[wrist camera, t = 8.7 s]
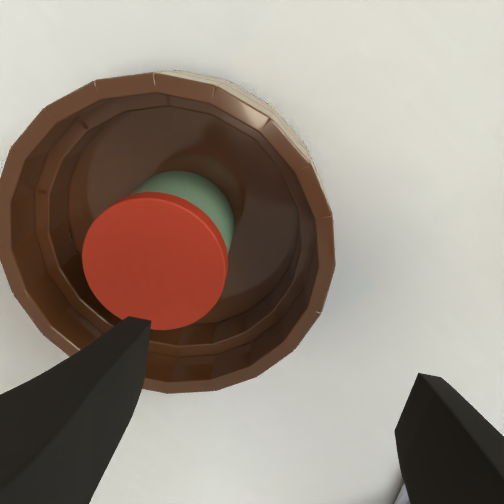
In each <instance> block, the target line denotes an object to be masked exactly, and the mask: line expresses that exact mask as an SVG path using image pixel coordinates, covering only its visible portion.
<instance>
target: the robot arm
mask: <svg viewBox="0 0 504 504" xmlns="http://www.w3.org/2000/svg"><path fill="white" fill-rule="evenodd" d="M151 321H152V320H147V319H141V318H136V317H131V316H128V317H126V318H125V319H123V320H122V321H121V322H119V323H118V324H116V325H115V326H114V327H112V328H111V329H110V330H108V331H107V332H105V333H104V334H103V335H101V336H100V337H98V338H97V339H96V340H94V341H93V342H91V343H90V344H88V345H87V346H85V347H84V348H82V349H81V350H80V351H78V352H77V353H75V354H74V355H72V356H71V357H69V358H67V359H66V360H64V361H62V362H61V363H59V364H57V365H56V366H54V367H52V368H51V369H49V370H47V371H46V372H44V373H42V374H41V375H39V376H37V377H35V378H33V379H31V380H30V381H28V382H26V383H24V384H22V385H19V386H17V387H15V388H13V389H11V390H9V391H7V392H5V393H3V394H1V395H0V504H89V503H90V501H91V498H92V496H93V494H94V492H95V490H96V488H97V486H98V484H99V482H100V480H101V478H102V476H103V474H104V472H105V470H106V468H107V466H108V464H109V462H110V460H111V458H112V456H113V454H114V452H115V450H116V448H117V446H118V444H119V442H120V440H121V438H122V436H123V434H124V432H125V430H126V428H127V426H128V424H129V422H130V420H131V418H132V415H133V413H134V410H135V407H136V404H137V402H138V399H139V396H140V393H141V390H142V387H143V384H144V380H145V372H146V363H147V355H148V346H149V338H150V329H151ZM395 438H396V445H397V452H398V458H399V464H400V469H401V473H402V477H403V480H404V484H403V487H402V489H401V491H400V493H399V495H398V497H397V499H396V502H395V504H504V436H503V435H502V434H500V433H499V432H498V431H497V430H496V429H495V428H494V427H493V426H492V425H491V424H490V423H489V422H488V421H487V420H486V419H485V418H484V417H483V416H482V415H481V414H480V413H479V412H478V411H477V410H476V409H475V408H474V407H473V406H472V405H470V404H469V403H468V402H467V401H466V400H465V399H464V398H463V397H462V396H461V395H460V394H459V393H458V392H457V391H456V390H455V389H454V388H453V387H452V386H451V385H449V384H448V383H447V382H446V381H445V380H444V379H442V378H441V377H437V376H431V375H426V374H421V373H418V375H417V378H416V380H415V383H414V385H413V387H412V390H411V392H410V395H409V397H408V400H407V402H406V404H405V407H404V409H403V412H402V414H401V416H400V419H399V421H398V424H397V426H396V429H395Z"/></svg>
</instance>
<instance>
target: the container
mask: <svg viewBox="0 0 504 504" xmlns="http://www.w3.org/2000/svg"><path fill="white" fill-rule="evenodd" d="M233 235H234V216H233V212H232V209H231V206H230V204H229V202H228V200H227V199H226V197H225V195H224V194H223V193H222V192H221V190H220V189H219V188H218V187H217V186H216V185H215V184H213V183H212V182H211V181H209V180H208V179H206V178H204V177H202V176H200V175H197V174H195V173H191V172H187V171H167V172H163V173H159V174H157V175H154V176H152V177H151V178H149V179H147V180H146V181H145V182H144V183H143V184H141V185H140V186H139V187H138V188H137V189H136V190H134V191H133V192H132V193H131V194H130V195H129V196H126V197H124V198H122V199H120V200H118V201H116V202H115V203H113V204H112V205H111V206H109V207H108V208H107V209H106V210H105V211H103V212H102V213H101V214H100V215H99V216H98V217H97V218H96V219H95V220H94V221H93V223H92V224H91V226H90V228H89V229H88V232H87V234H86V236H85V239H84V243H83V249H82V264H83V270H84V274H85V277H86V280H87V282H88V285H89V287H90V289H91V290H92V292H93V293H94V295H95V296H96V298H97V299H98V300H99V301H100V303H101V304H102V305H103V306H104V307H105V308H106V309H108V310H109V311H110V312H111V313H113V314H114V315H115V316H117V317H119V318H120V319H122V320H123V319H125V318H126V317H128V316H131V317H136V318H141V319H147V320H152V321H151V329H153V330H170V329H176V328H181V327H184V326H187V325H190V324H192V323H194V322H196V321H197V320H199V319H201V318H202V317H204V316H205V315H206V314H207V313H208V312H209V311H210V310H211V309H212V308H213V307H214V305H215V304H216V303H217V301H218V299H219V298H220V296H221V293H222V291H223V288H224V284H225V280H226V276H227V271H228V253H229V250H230V246H231V243H232V239H233Z"/></svg>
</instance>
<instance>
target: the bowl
mask: <svg viewBox="0 0 504 504" xmlns="http://www.w3.org/2000/svg"><path fill="white" fill-rule="evenodd" d="M167 171H187V172H191V173H195V174H197V175H200V176H202V177H204V178H206V179H208V180H209V181H211V182H212V183H213V184H215V185H216V186H217V187H218V188H219V189H220V190H221V192H222V193H223V194H224V195H225V197H226V199H227V200H228V202H229V204H230V206H231V209H232V212H233V216H234V235H233V239H232V243H231V246H230V250H229V253H228V271H227V276H226V280H225V284H224V288H223V291H222V293H221V296H220V298H219V299H218V301H217V303H216V304H215V305H214V307H213V308H212V309H211V310H210V311H209V312H208V313H207V314H206V315H205V316H204V317H202V318H201V319H199V320H197V321H196V322H194V323H192V324H190V325H187V326H184V327H181V328H176V329H170V330H153V329H150V338H149V346H148V355H147V363H146V372H145V380H144V384H143V387H142V389H146V390H152V391H157V392H162V393H167V394H169V393H170V394H172V393H189V392H207V391H214V390H215V391H217V390H220V389H223V388H226V387H229V386H232V385H235V384H238V383H241V382H244V381H246V380H249V379H252V378H255V377H257V376H259V375H260V374H262V373H263V372H265V371H266V370H267V369H269V368H270V367H272V366H273V365H274V364H276V363H277V362H279V361H280V360H281V359H283V358H284V357H286V356H287V355H288V354H290V353H291V352H293V350H294V349H296V347H297V346H298V345H299V343H300V342H301V340H302V339H303V338H304V336H305V335H306V334H307V332H308V331H309V329H310V328H311V327H312V325H313V324H314V323H315V321H316V320H317V319H318V317H319V316H320V314H321V312H322V310H323V307H324V304H325V300H326V297H327V293H328V290H329V287H330V283H331V280H332V277H333V273H334V270H335V247H334V229H333V216H332V212H331V209H330V206H329V203H328V200H327V197H326V194H325V191H324V188H323V185H322V183H321V180H320V178H319V175H318V173H317V171H316V168H315V166H314V163H313V161H312V158H311V156H310V154H309V151H308V149H307V146H305V143H304V142H303V141H302V140H301V139H300V138H299V137H298V135H297V134H296V133H295V132H294V131H293V130H292V128H291V127H290V126H289V125H288V124H287V123H286V122H285V120H284V119H283V118H282V117H281V116H280V115H279V113H278V112H277V111H276V110H275V109H274V108H272V106H270V105H269V104H267V103H265V102H264V101H262V100H260V99H259V98H257V97H255V96H253V95H252V94H250V93H248V92H247V91H245V90H243V89H242V88H240V87H238V86H237V85H235V84H233V83H232V82H228V81H227V80H223V79H218V78H213V77H208V76H204V75H199V74H194V73H189V72H185V71H176V70H174V71H162V72H151V73H143V74H136V75H128V76H121V77H113V78H106V79H98V80H95V81H92V82H90V83H88V84H86V85H84V86H83V87H81V88H79V89H77V90H75V91H73V92H71V93H70V94H68V95H66V96H64V97H62V98H60V99H58V100H57V101H55V102H53V103H51V104H49V105H47V106H46V107H45V108H43V109H42V111H41V112H40V113H39V114H38V115H37V117H36V118H35V119H34V120H33V121H32V123H31V124H30V125H29V126H28V127H27V129H26V130H25V131H24V132H23V133H22V135H21V136H20V137H19V138H18V139H17V141H16V142H15V143H14V144H13V145H12V147H11V149H10V150H9V153H8V156H7V159H6V162H5V166H4V169H3V172H2V175H1V178H0V260H1V263H2V266H3V268H4V271H5V274H6V277H7V279H8V282H9V285H10V288H11V290H12V293H14V296H15V298H16V299H17V300H18V302H19V303H20V304H21V306H22V307H23V309H24V310H25V311H26V313H27V314H28V315H29V317H30V318H31V320H32V321H33V322H34V324H35V325H36V326H37V328H38V329H39V330H40V332H41V333H43V335H44V336H45V337H46V338H48V339H49V340H50V341H51V342H53V343H54V344H55V345H56V346H57V347H59V348H60V349H61V350H62V351H64V352H65V353H66V354H67V355H69V356H70V357H71V356H72V355H74V354H75V353H77V352H78V351H80V350H81V349H82V348H84V347H85V346H87V345H88V344H90V343H91V342H93V341H94V340H96V339H97V338H98V337H100V336H101V335H103V334H104V333H105V332H107V331H108V330H110V329H111V328H112V327H114V326H115V325H116V324H118V323H119V322H121V321H122V319H120V318H119V317H117V316H115V315H114V314H113V313H111V312H110V311H109V310H108V309H106V308H105V307H104V306H103V305H102V304H101V303H100V301H99V300H98V299H97V298H96V296H95V295H94V293H93V292H92V290H91V289H90V287H89V285H88V282H87V280H86V277H85V274H84V270H83V264H82V249H83V243H84V239H85V236H86V234H87V232H88V229H89V228H90V226H91V224H92V223H93V221H94V220H95V219H96V218H97V217H98V216H99V215H100V214H101V213H102V212H103V211H105V210H106V209H107V208H108V207H109V206H111V205H112V204H113V203H115V202H116V201H118V200H120V199H122V198H124V197H126V196H129V195H130V194H131V193H132V192H133V191H134V190H136V189H137V188H138V187H139V186H140V185H141V184H143V183H144V182H145V181H146V180H147V179H149V178H151V177H152V176H154V175H157V174H159V173H163V172H167Z"/></svg>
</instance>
